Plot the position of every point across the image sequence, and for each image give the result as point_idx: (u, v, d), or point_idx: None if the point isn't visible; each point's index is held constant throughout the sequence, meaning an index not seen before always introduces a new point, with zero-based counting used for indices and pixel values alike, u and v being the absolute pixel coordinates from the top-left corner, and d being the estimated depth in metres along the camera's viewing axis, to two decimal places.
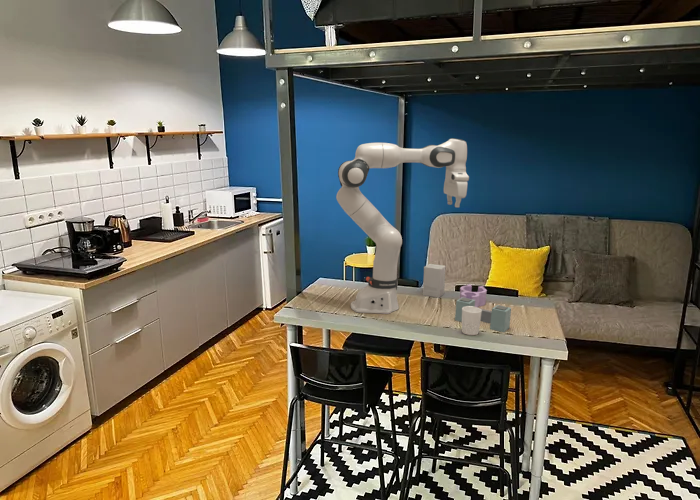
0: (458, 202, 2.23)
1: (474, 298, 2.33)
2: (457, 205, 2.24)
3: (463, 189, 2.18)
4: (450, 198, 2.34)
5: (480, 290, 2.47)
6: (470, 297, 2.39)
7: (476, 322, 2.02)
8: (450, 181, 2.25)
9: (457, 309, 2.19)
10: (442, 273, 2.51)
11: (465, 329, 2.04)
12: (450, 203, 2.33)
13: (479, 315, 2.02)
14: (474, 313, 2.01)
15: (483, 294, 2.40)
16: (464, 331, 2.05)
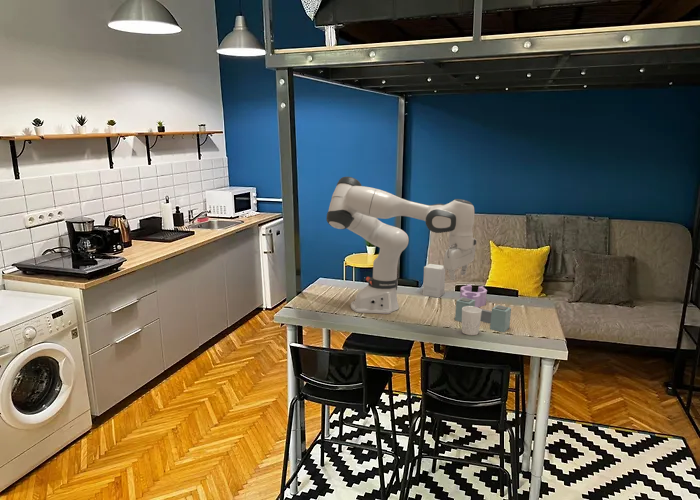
0: None
1: (475, 298, 2.32)
2: None
3: None
4: None
5: (480, 290, 2.47)
6: (471, 297, 2.39)
7: (476, 322, 2.02)
8: None
9: (457, 309, 2.19)
10: (442, 273, 2.51)
11: (465, 329, 2.04)
12: None
13: (479, 315, 2.02)
14: (474, 313, 2.01)
15: (483, 294, 2.40)
16: (464, 331, 2.05)
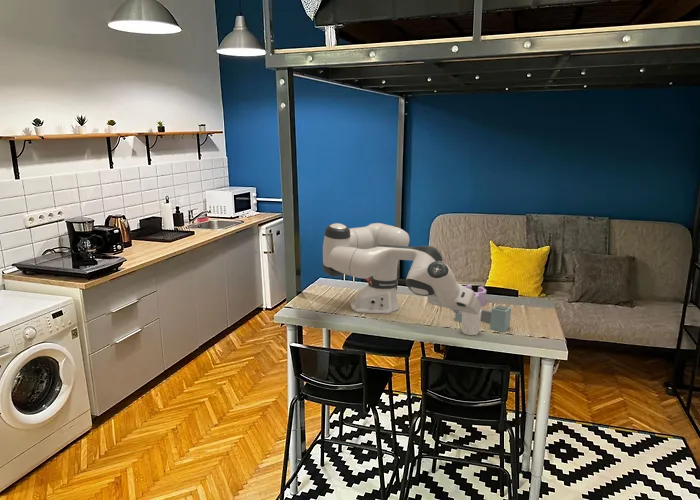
0: None
1: None
2: (460, 311, 1.92)
3: (478, 305, 1.82)
4: None
5: (480, 290, 2.47)
6: None
7: (476, 322, 2.02)
8: None
9: None
10: None
11: (465, 329, 2.04)
12: (457, 311, 1.93)
13: (479, 315, 2.02)
14: None
15: (483, 294, 2.39)
16: (464, 331, 2.05)
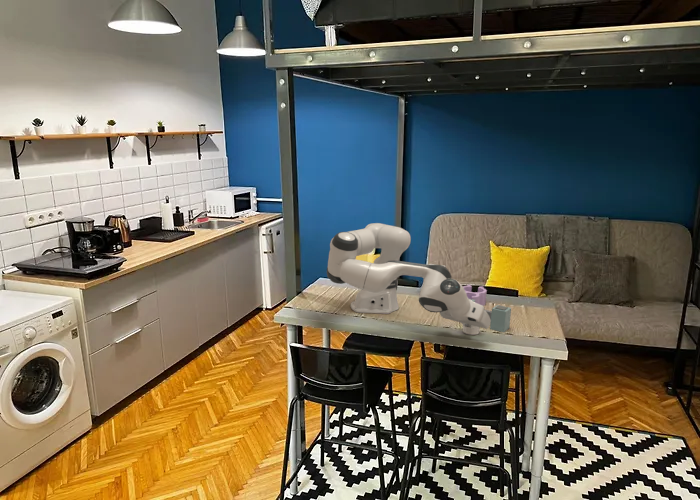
0: None
1: (474, 298, 2.32)
2: (471, 325, 2.01)
3: (488, 319, 1.91)
4: None
5: (480, 290, 2.46)
6: (470, 297, 2.39)
7: None
8: None
9: None
10: None
11: (466, 329, 2.05)
12: None
13: None
14: None
15: (483, 294, 2.39)
16: (465, 331, 2.05)
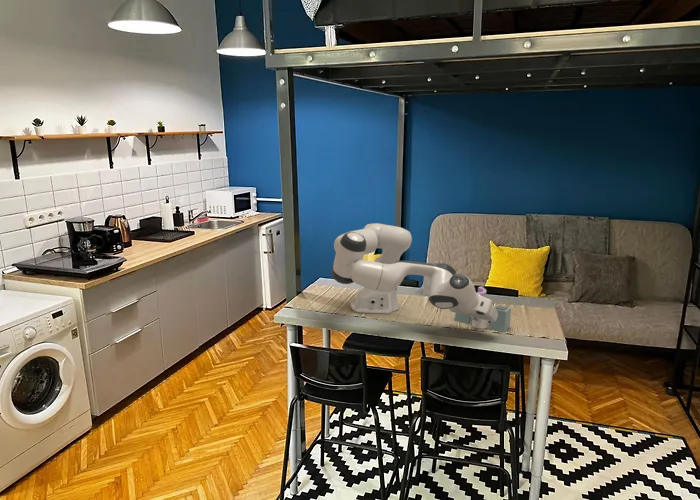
0: None
1: None
2: (479, 319, 2.08)
3: (495, 313, 1.99)
4: None
5: (480, 290, 2.46)
6: None
7: None
8: None
9: None
10: None
11: (474, 322, 2.12)
12: (475, 318, 2.10)
13: None
14: None
15: (483, 294, 2.39)
16: (473, 324, 2.13)
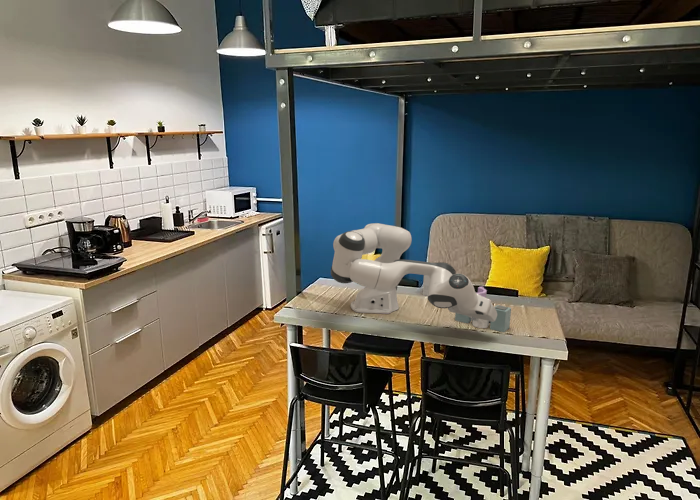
0: None
1: None
2: (478, 318, 2.07)
3: (495, 313, 1.98)
4: None
5: (480, 290, 2.46)
6: None
7: None
8: None
9: None
10: None
11: (474, 322, 2.13)
12: (475, 318, 2.08)
13: None
14: None
15: (483, 295, 2.39)
16: (473, 324, 2.14)
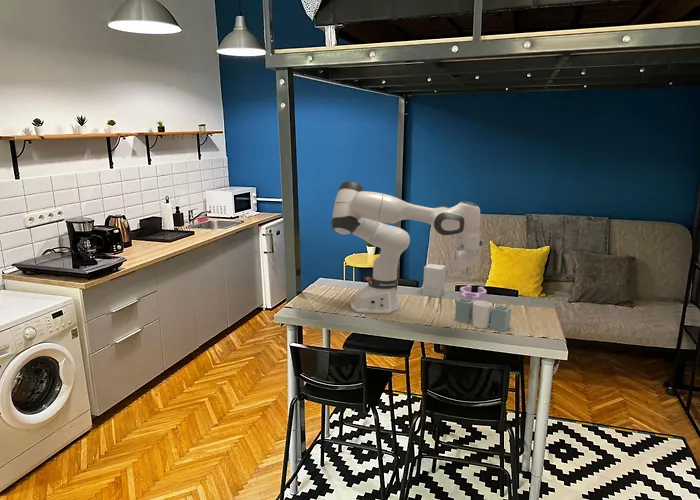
0: None
1: (474, 299, 2.32)
2: None
3: None
4: None
5: (480, 291, 2.46)
6: (470, 298, 2.38)
7: (484, 315, 2.10)
8: (474, 250, 1.96)
9: (457, 309, 2.19)
10: (442, 273, 2.51)
11: (474, 322, 2.13)
12: None
13: (488, 309, 2.10)
14: (482, 307, 2.09)
15: (483, 295, 2.39)
16: (473, 324, 2.14)
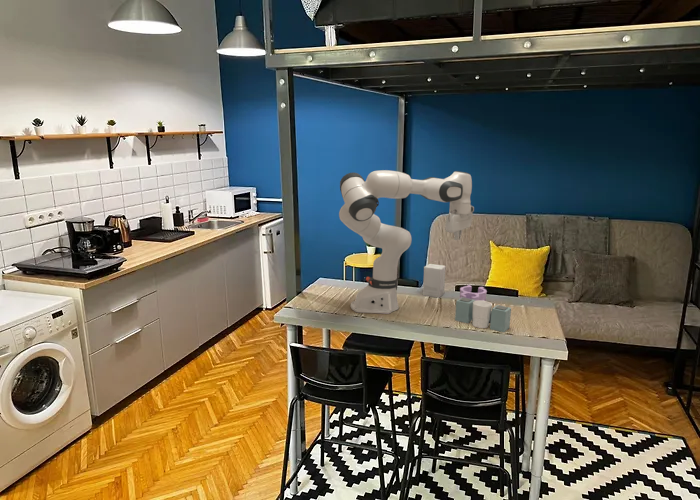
0: None
1: (474, 299, 2.31)
2: None
3: None
4: None
5: (480, 291, 2.46)
6: (470, 298, 2.38)
7: (484, 315, 2.10)
8: (466, 215, 2.20)
9: (457, 309, 2.19)
10: (442, 273, 2.51)
11: (474, 322, 2.13)
12: None
13: (488, 309, 2.10)
14: (482, 307, 2.09)
15: (483, 295, 2.39)
16: (473, 324, 2.14)
